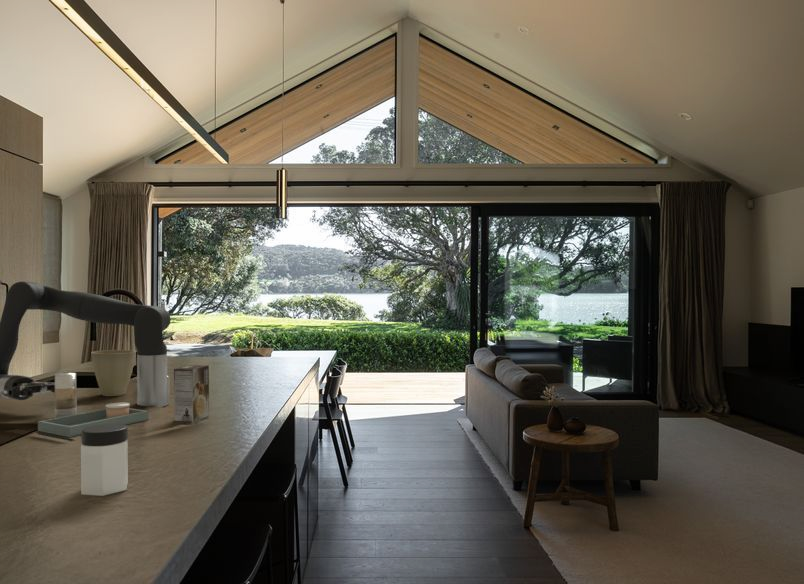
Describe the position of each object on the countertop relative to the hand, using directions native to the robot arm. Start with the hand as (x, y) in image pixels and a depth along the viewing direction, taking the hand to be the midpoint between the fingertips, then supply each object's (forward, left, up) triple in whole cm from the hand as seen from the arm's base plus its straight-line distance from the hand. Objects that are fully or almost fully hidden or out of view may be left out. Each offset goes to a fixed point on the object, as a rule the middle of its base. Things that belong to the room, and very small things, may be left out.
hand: (45, 391), depth 189 cm
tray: (+2, +27, -8) cm, 28 cm away
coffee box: (-18, +43, -8) cm, 47 cm away
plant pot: (-36, -18, -8) cm, 41 cm away
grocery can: (0, +10, -8) cm, 13 cm away
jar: (+34, +77, -8) cm, 85 cm away
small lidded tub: (-5, +27, -7) cm, 28 cm away
